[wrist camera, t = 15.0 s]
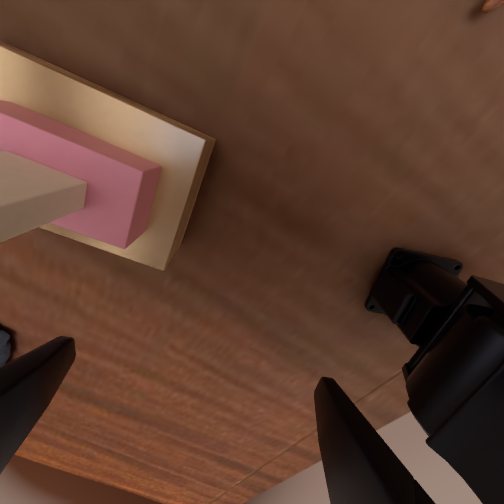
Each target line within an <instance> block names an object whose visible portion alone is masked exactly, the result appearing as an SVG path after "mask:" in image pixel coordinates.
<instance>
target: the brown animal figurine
mask: <svg viewBox="0 0 504 504" xmlns="http://www.w3.org/2000/svg"><path fill="white" fill-rule="evenodd" d="M502 3H504V0H487V1H486V2H485V4H484V5H483V8H482V11H483V12H484V13H488V12H490V11H493V10H494V9H495V8H497V7H498V6H500V5H501V4H502Z"/></svg>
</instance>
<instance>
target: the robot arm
mask: <svg viewBox="0 0 504 504" xmlns="http://www.w3.org/2000/svg"><path fill="white" fill-rule="evenodd" d="M397 253H399V254H398V255H397V256H396V254H397ZM456 265H457V266H456ZM455 266H456V267H455ZM454 267H455V268H454ZM462 268H463V264H462V263H461V262H459V261H457V260H453V259H448V258H443V257H439V256H434V255H430V254H425V253H420V252H416V251H411V250H407V249H402V248H395V249H393V250H392V251H391V253H390V255H389V257H388V259H387V261H386V263H385V265H384V267H383V269H382V270H381V272H380V274H379V276H378V278H377V280H376V282H375V284H374V286H373V288H372V290H371V292H370V295H369V297H368V299H367V301H366V303H365V307H366V309H367V310H368V311H371V312H377V313H382V314H386V315H387V316H388V317H389V319H390V320H391V321H392V323H394V324H396V325H397V326H398V328H399V329H400V330H401V331H402V333H403V334H404V335H405V337H406V338H407V339H408V340H409V342H410V343H411V344H416V345H417V346H418V347H419V349H418V350H417V351H416V353H415V354H414V355H413V357H412V358H411V359H410V361H409V362H408V363H405V365H404V366H403V367H402V371H403V374H404V378H405V381H406V389H407V393H408V397H409V400H408V402H407V404H408V406H409V408H410V410H411V412H412V414H413V415H414V417H415V419H416V420H417V422H418V423H419V424H420V425H421V427H422V428H423V430H424V431H425V432H426V434H427V435H428V436H429V437H428V438H427V439H426V443H427V445H428V446H429V447H430V448H432V449H433V450H434V451H435V452H436V453H438V454H439V455H440V456H441V457H442V458H443V459H445V460H446V461H447V462H448V463H449V464H450V465H451V466H452V467H453V469H454V470H455V471H456V472H457V473H459V475H460V476H461V477H462V478H463V479H464V480H465V482H466V483H467V484H468V485H469V487H470V488H471V489H472V490H473V492H474V493H475V494H476V495H477V497H478V498H479V499H480V501H481V502H482V503H483V504H504V284H502V283H498V282H495V281H491V280H487V279H484V278H480V277H477V276H473V275H472V276H471V277H470V278H469V280H468V281H467V283H468V284H467V283H465V282H464V281H462V280H461V279H459V278H458V277H457V276H458V275H459V273H460V271H461V270H462ZM370 305H372V306H370ZM369 306H370V307H369ZM75 356H76V352H75V341H74V339H73V338H72V337H66V336H59V337H57V338H55V339H53V340H51V341H49V342H47V343H45V344H44V345H42V346H40V347H38V348H36V349H34V350H32V351H30V352H28V353H26V354H25V355H23V356H21V357H19V358H17V359H15V360H13V361H11V362H9V363H7V364H5V365H4V366H2V367H0V474H1V472H2V471H3V469H4V468H5V467H6V465H7V464H8V462H9V461H10V460H11V458H12V457H13V455H14V454H15V452H16V451H17V450H18V448H19V447H20V445H21V444H22V443H23V441H24V440H25V438H26V437H27V435H28V434H29V433H30V431H31V430H32V428H33V427H34V426H35V424H36V423H37V421H38V420H39V418H40V417H41V416H42V414H43V413H44V411H45V410H46V408H47V407H48V405H49V403H50V402H51V400H52V398H53V397H54V395H55V393H56V391H57V390H58V388H59V386H60V385H61V383H62V381H63V379H64V378H65V376H66V374H67V372H68V371H69V369H70V367H71V365H72V364H73V362H74V360H75ZM314 401H315V411H316V421H317V432H318V440H319V446H320V452H321V457H322V462H323V467H324V472H325V477H326V483H327V487H328V493H329V498H330V503H331V504H435V503H434V501H433V500H432V499H431V498H430V497H429V495H428V494H427V493H426V492H425V491H424V489H423V488H422V487H421V486H420V484H419V483H418V482H417V481H416V480H414V478H413V476H412V475H411V474H410V472H409V471H408V470H407V469H406V467H405V466H404V465H403V464H402V463H401V461H400V460H399V459H398V458H397V456H396V455H395V454H394V453H393V451H392V450H391V449H390V448H389V446H388V445H387V444H386V443H385V442H384V440H383V439H382V438H381V437H380V435H379V434H378V433H377V432H376V430H375V429H374V428H373V427H372V426H371V424H370V423H369V422H368V421H367V419H366V418H365V417H364V416H363V415H362V413H361V412H360V411H359V410H358V408H357V407H356V406H355V405H354V403H353V402H352V401H351V400H350V399H349V397H348V396H347V395H346V394H345V392H344V391H343V390H342V389H341V387H340V386H339V385H338V384H337V383H336V381H335V380H334V379H333V378H329V377H321V379H320V381H319V383H318V385H317V387H316V389H315V392H314Z"/></svg>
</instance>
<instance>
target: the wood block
mask: <svg viewBox="0 0 504 504" xmlns="http://www.w3.org/2000/svg"><path fill="white" fill-rule="evenodd" d="M0 100H2V101H9V102H13V103H15V104H18V105H20V106H22V107H25V108H27V109H29V110H32V111H34V112H37V113H39V114H41V115H44V116H46V117H48V118H51V119H53V120H55V121H58V122H60V123H62V124H65V125H67V126H70V127H72V128H74V129H77V130H79V131H81V132H84V133H86V134H88V135H91V136H93V137H95V138H98V139H100V140H103V141H105V142H107V143H110V144H112V145H114V146H117V147H119V148H121V149H124V150H126V151H128V152H131V153H133V154H136V155H138V156H140V157H143V158H145V159H147V160H150V161H152V162H154V163H157V164H159V165H161V166H162V169H161V172H160V176H159V180H158V184H157V188H156V191H155V195H154V199H153V203H152V206H151V210H150V214H149V218H148V221H147V225H146V229H145V232H144V233H143V234H142V235H141V236H139V237H138V238H137V239H136V240H135V241H134V242H133V243H132V244H130V245H129V246H128V247H127V248H126V249H122V248H119V247H116V246H113V245H110V244H108V243H105V242H102V241H99V240H96V239H94V238H91V237H88V236H85V235H82V234H79V233H77V232H74V231H71V230H68V229H65V228H63V227H60V226H57V225H54V224H51V223H47V224H45V225H42V226H40V227H39V228H42V229H45V230H48V231H51V232H53V233H56V234H59V235H62V236H65V237H68V238H71V239H73V240H76V241H79V242H82V243H85V244H88V245H91V246H93V247H96V248H99V249H102V250H105V251H108V252H111V253H113V254H116V255H119V256H122V257H125V258H128V259H131V260H133V261H136V262H139V263H142V264H145V265H148V266H151V267H153V268H156V269H159V270H162V271H164V270H165V269H166V267H167V266H168V264H169V263H170V261H171V260H172V258H173V256H174V255H175V253H176V252H177V250H178V249H179V247H180V246H181V243H182V240H183V237H184V234H185V231H186V228H187V225H188V222H189V219H190V216H191V213H192V210H193V207H194V204H195V201H196V198H197V195H198V192H199V189H200V186H201V183H202V180H203V177H204V174H205V172H206V169H207V166H208V163H209V160H210V157H211V154H212V151H213V148H214V145H215V142H216V139H215V138H212V137H210V136H208V135H206V134H204V133H201V132H199V131H197V130H195V129H193V128H191V127H188V126H186V125H184V124H182V123H180V122H177V121H175V120H173V119H171V118H169V117H167V116H164V115H162V114H160V113H158V112H156V111H154V110H151V109H149V108H147V107H145V106H143V105H140V104H138V103H136V102H134V101H132V100H130V99H127V98H125V97H123V96H121V95H119V94H116V93H114V92H112V91H110V90H108V89H106V88H103V87H101V86H99V85H97V84H95V83H92V82H90V81H88V80H86V79H84V78H82V77H79V76H77V75H75V74H73V73H71V72H68V71H66V70H64V69H62V68H60V67H58V66H55V65H53V64H51V63H49V62H47V61H45V60H42V59H40V58H38V57H36V56H34V55H31V54H29V53H27V52H25V51H23V50H21V49H18V48H16V47H14V46H12V45H10V44H7V43H5V42H3V41H0Z"/></svg>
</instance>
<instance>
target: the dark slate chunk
mask: <svg viewBox="0 0 504 504" xmlns="http://www.w3.org/2000/svg"><path fill="white" fill-rule="evenodd" d="M9 338H10V335H9V334H8V333H6V332H5V331H3V330H1V329H0V367H2V366H4V365H5V364H6V362H7V359H8V358H9V356H10V354H11V352H10V349H11V346H10V342H9Z"/></svg>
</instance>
